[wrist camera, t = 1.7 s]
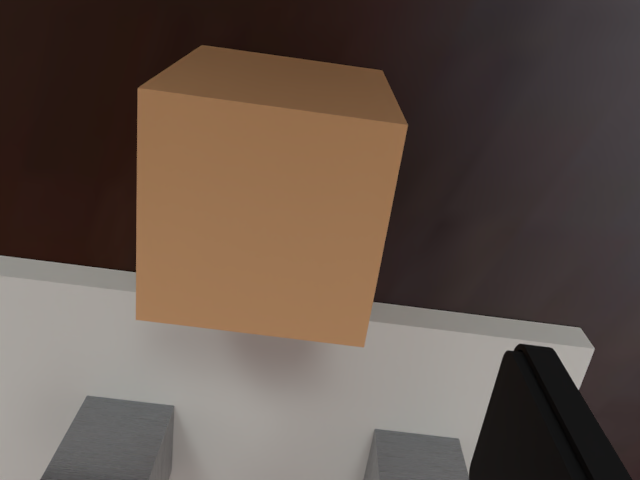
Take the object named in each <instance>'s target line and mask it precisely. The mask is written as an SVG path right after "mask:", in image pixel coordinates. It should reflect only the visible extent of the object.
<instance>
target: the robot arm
mask: <svg viewBox="0 0 640 480" xmlns="http://www.w3.org/2000/svg"><path fill="white" fill-rule="evenodd" d="M469 480H632V479H631V477H630V475H629V474H628V472H627V470H626V469H625V467H624V465H623V463H622V462H621V460H620V458H619V457H618V455H617V453H616V452H615V450H614V448H613V447H612V445H611V443H610V442H609V440H608V438H607V437H606V436H605V434H604V432H603V430H602V429H601V427H600V425H599V424H598V422H597V420H596V419H595V417H594V415H593V414H592V412H591V410H590V409H589V407H588V405H587V404H586V402H585V400H584V399H583V397H582V395H581V394H580V392H579V390H578V389H577V387H576V385H575V384H574V382H573V380H572V379H571V377H570V375H569V373H568V372H567V370H566V368H565V367H564V365H563V363H562V362H561V360H560V358H559V357H558V355H557V353H556V352H555V350H554V349H553V348H550V347H543V346H535V345H527V344H518V345H517V346H516V347H515V349H514V351H510V350H507V351H506V352H505V353H504V355H503V358H502V361H501V365H500V368H499V371H498V375H497V378H496V381H495V384H494V388H493V391H492V394H491V398H490V401H489V404H488V408H487V411H486V414H485V418H484V421H483V424H482V428H481V431H480V434H479V437H478V441H477V444H476V447H475V451H474V454H473V457H472V461H471V464H470V469H469Z"/></svg>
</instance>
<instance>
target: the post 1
mask: <svg viewBox="0 0 640 480" xmlns="http://www.w3.org/2000/svg"><path fill="white" fill-rule="evenodd" d="M173 429H174V406H173V405H165V404H156V403H147V402H139V401H130V400H121V399H113V398H104V397H95V396H86V398H85V400H84V402H83V404H82V405H81V407H80V409H79V411H78V413H77V414H76V416H75V418H74V420H73V422H72V423H71V425H70V427H69V429H68V430H67V432H66V434H65V436H64V438H63V439H62V441H61V443H60V445H59V447H58V448H57V450H56V452H55V454H54V456H53V457H52V459H51V461H50V463H49V465H48V466H47V468H46V470H45V472H44V474H43V475H42V477H41V479H40V480H169V477H170V474H171V471H172V452H173Z"/></svg>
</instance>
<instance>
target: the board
mask: <svg viewBox="0 0 640 480" xmlns="http://www.w3.org/2000/svg"><path fill="white" fill-rule="evenodd" d="M518 344H527V345H535V346H543V347H550V348H553V349H554V350H555V352H556V353H557V355H558V357H559V358H560V360H561V362H562V363H563V365H564V367H565V368H566V370H567V372H568V373H569V375H570V377H571V379H572V380H573V382H574V384H575V385H576V387H577V389H578V390H579V388H580V386H581V383H582V381H583V378H584V376H585V373H586V370H587V368H588V365H589V363H590V360H591V358H592V355H593V352H594V350H595V348H594V347H593V345H592V344H591V342H590V341H589V339H588V338H587V337H586V335H585V334H584V332H583V331H582V329H581V328H579V327H570V326H562V325H554V324H546V323H538V322H530V321H522V320H514V319H506V318H498V317H490V316H482V315H474V314H466V313H458V312H450V311H442V310H434V309H426V308H418V307H410V306H402V305H394V304H386V303H378V302H373V305H372V310H371V315H370V320H369V325H368V330H367V335H366V340H365V345H364V347H356V346H348V345H339V344H331V343H323V342H315V341H306V340H298V339H290V338H282V337H273V336H265V335H257V334H249V333H240V332H232V331H224V330H216V329H207V328H199V327H191V326H183V325H174V324H166V323H158V322H150V321H141V320H136V272H129V271H120V270H112V269H104V268H96V267H88V266H80V265H72V264H64V263H56V262H48V261H40V260H32V259H24V258H16V257H8V256H0V480H40V479H41V477H42V475H43V474H44V472H45V470H46V468H47V466H48V465H49V463H50V461H51V459H52V457H53V456H54V454H55V452H56V450H57V448H58V447H59V445H60V443H61V441H62V439H63V438H64V436H65V434H66V432H67V430H68V429H69V427H70V425H71V423H72V422H73V420H74V418H75V416H76V414H77V413H78V411H79V409H80V407H81V405H82V404H83V402H84V400H85V398H86V396H95V397H104V398H113V399H121V400H130V401H139V402H147V403H156V404H165V405H173V406H174V429H173V452H172V471H171V474H170V477H169V480H363V479H364V475H365V470H366V466H367V461H368V457H369V452H370V448H371V443H372V439H373V434H374V430H375V429H381V430H390V431H398V432H407V433H416V434H424V435H433V436H441V437H450V438H459V441H460V445H461V449H462V452H463V456H464V460H465V464H466V467H467V471H468V475H469V469H470V464H471V461H472V457H473V454H474V451H475V447H476V444H477V441H478V437H479V434H480V431H481V428H482V424H483V421H484V418H485V414H486V411H487V408H488V404H489V401H490V398H491V394H492V391H493V388H494V384H495V381H496V378H497V375H498V371H499V368H500V365H501V361H502V358H503V355H504V353H505V352H506V351H507V350H510V351H514V349H515V347H516V346H517V345H518Z"/></svg>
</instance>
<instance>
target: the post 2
mask: <svg viewBox="0 0 640 480" xmlns="http://www.w3.org/2000/svg"><path fill="white" fill-rule="evenodd" d="M363 480H469V475H468V471H467V467H466V464H465V460H464V456H463V452H462V449H461V445H460V441H459V438H450V437H441V436H433V435H424V434H416V433H407V432H398V431H390V430H381V429H375V430H374V434H373V439H372V443H371V448H370V452H369V457H368V461H367V466H366V470H365V475H364V479H363Z"/></svg>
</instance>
